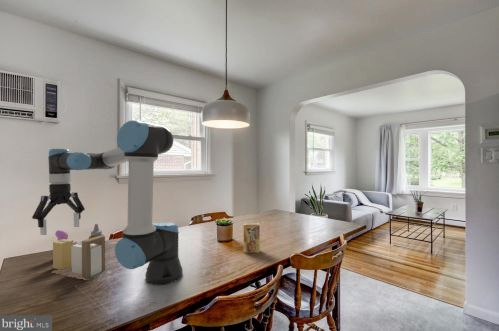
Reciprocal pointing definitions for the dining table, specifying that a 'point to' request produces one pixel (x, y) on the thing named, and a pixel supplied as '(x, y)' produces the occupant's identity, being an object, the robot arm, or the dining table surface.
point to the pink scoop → (62, 235)
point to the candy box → (251, 237)
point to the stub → (62, 254)
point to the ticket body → (88, 257)
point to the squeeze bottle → (96, 232)
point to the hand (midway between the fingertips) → (61, 230)
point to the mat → (98, 274)
